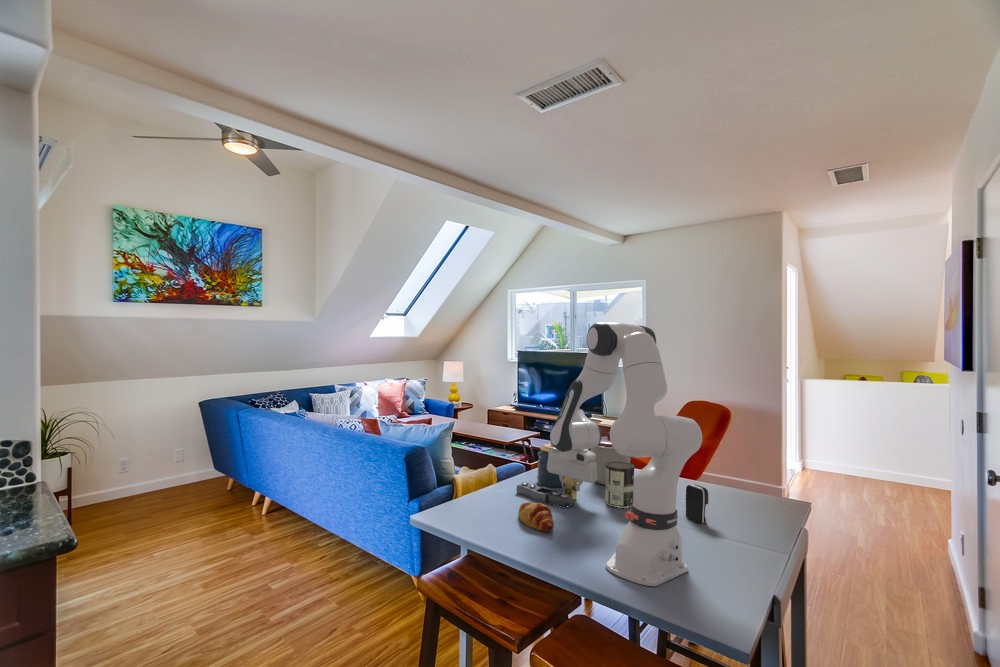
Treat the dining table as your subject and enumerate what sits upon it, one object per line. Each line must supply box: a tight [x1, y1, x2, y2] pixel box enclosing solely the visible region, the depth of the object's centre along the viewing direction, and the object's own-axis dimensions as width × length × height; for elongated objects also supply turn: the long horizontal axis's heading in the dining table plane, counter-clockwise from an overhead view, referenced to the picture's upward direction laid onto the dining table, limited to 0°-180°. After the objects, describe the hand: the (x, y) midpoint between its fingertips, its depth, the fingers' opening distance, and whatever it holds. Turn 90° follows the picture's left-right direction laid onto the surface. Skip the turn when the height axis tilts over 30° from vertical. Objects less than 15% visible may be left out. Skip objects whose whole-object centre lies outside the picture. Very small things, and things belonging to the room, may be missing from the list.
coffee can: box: [604, 461, 636, 509], centre depth 173 cm, size 10×10×14 cm
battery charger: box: [685, 483, 709, 524], centre depth 159 cm, size 7×4×11 cm, turn 26°
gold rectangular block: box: [563, 477, 578, 500], centre depth 177 cm, size 3×3×9 cm
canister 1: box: [536, 442, 562, 488], centre depth 195 cm, size 13×13×18 cm
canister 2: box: [590, 431, 631, 486], centre depth 198 cm, size 18×18×21 cm
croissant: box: [518, 502, 555, 533], centre depth 154 cm, size 21×10×8 cm, turn 23°
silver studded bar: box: [516, 481, 574, 509], centre depth 176 cm, size 7×22×4 cm, turn 48°
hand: (570, 489), depth 177 cm, fingers open, 4 cm apart
